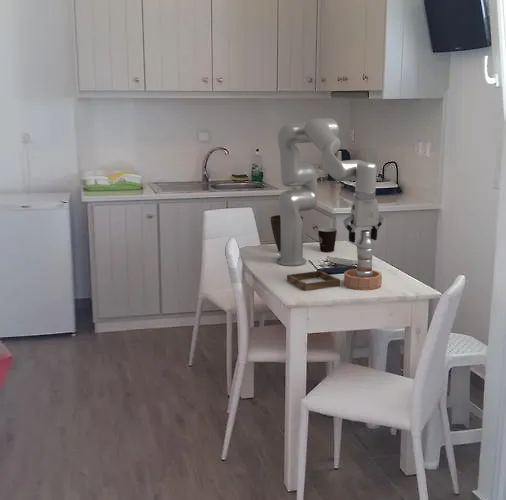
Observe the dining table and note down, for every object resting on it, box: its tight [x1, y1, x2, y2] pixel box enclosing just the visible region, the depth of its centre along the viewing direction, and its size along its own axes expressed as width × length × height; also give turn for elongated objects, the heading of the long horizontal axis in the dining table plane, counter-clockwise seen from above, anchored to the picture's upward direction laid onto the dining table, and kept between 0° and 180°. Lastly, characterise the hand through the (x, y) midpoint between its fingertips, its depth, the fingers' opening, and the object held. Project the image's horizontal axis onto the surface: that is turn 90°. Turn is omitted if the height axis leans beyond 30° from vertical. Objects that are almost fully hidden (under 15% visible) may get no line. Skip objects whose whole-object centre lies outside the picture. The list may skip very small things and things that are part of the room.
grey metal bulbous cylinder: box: [355, 229, 375, 278], centre depth 266 cm, size 6×7×20 cm
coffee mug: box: [317, 227, 338, 253], centre depth 325 cm, size 12×9×10 cm
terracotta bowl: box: [343, 268, 383, 291], centre depth 268 cm, size 14×14×4 cm
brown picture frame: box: [286, 270, 341, 292], centre depth 271 cm, size 15×15×2 cm
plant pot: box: [270, 214, 304, 253], centre depth 322 cm, size 15×15×16 cm
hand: (362, 240), depth 265 cm, fingers open, 9 cm apart
